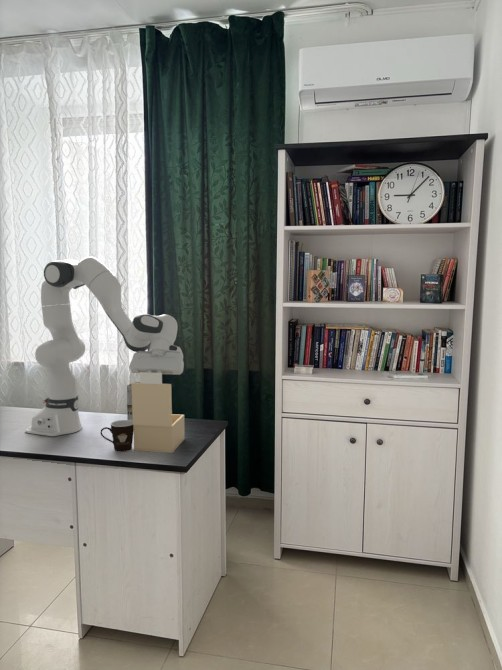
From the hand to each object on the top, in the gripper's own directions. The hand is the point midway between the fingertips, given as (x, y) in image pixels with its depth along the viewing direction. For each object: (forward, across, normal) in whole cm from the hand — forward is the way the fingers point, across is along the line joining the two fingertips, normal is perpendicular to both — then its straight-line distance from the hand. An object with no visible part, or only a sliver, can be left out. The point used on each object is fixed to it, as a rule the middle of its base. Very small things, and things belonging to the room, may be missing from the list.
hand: (152, 382), depth 186 cm
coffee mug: (+18, -14, +19) cm, 30 cm away
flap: (+5, 0, +4) cm, 6 cm away
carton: (+13, 0, +24) cm, 27 cm away
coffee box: (-10, -22, +48) cm, 53 cm away
